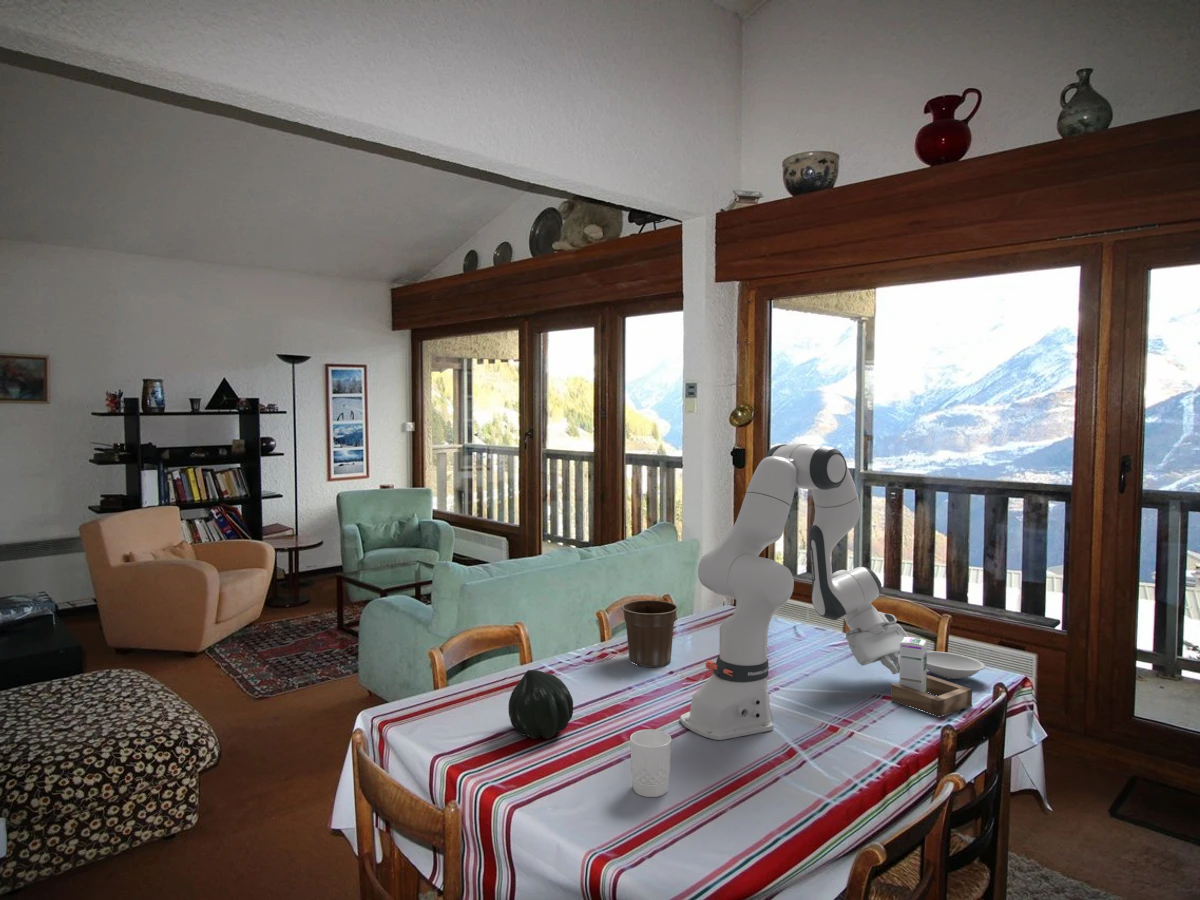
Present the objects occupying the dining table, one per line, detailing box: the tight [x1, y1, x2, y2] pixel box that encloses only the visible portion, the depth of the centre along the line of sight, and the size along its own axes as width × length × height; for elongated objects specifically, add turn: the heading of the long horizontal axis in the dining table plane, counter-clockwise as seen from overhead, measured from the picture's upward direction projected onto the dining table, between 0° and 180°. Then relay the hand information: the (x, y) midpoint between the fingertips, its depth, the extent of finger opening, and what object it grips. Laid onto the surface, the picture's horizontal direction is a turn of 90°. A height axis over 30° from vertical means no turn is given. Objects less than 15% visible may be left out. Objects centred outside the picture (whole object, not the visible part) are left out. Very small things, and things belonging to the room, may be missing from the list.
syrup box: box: [898, 636, 928, 694], centre depth 191 cm, size 6×6×14 cm
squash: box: [508, 669, 574, 740], centre depth 169 cm, size 14×15×15 cm
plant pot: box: [621, 599, 679, 668], centre depth 217 cm, size 16×16×16 cm
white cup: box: [629, 728, 672, 798], centre depth 143 cm, size 8×8×10 cm
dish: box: [927, 650, 986, 680], centre depth 204 cm, size 18×14×5 cm
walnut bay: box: [890, 674, 973, 717], centre depth 187 cm, size 14×13×4 cm
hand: (899, 672), depth 194 cm, fingers closed
